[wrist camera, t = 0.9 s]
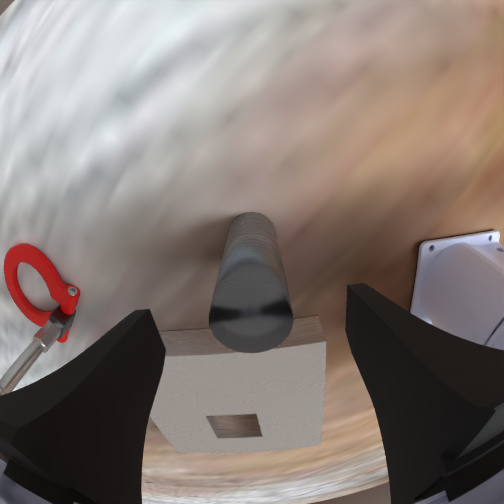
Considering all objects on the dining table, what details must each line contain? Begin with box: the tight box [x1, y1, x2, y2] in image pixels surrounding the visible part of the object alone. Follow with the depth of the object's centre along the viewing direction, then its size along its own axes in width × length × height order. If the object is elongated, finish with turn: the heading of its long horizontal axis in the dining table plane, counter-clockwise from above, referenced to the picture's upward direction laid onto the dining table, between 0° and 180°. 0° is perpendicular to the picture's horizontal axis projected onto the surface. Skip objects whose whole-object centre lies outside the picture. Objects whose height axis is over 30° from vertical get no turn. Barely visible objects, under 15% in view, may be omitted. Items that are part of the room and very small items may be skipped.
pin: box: [209, 212, 293, 353], centre depth 14 cm, size 3×3×9 cm
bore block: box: [150, 316, 326, 453], centre depth 23 cm, size 16×16×3 cm
